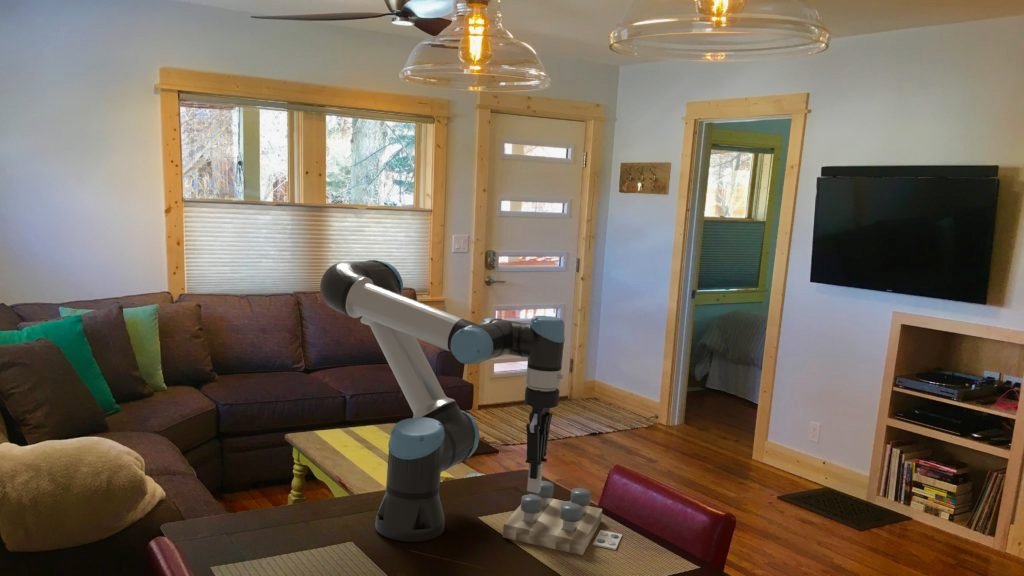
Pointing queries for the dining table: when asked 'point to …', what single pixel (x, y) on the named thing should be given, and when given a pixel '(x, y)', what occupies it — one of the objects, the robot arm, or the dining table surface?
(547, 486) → the button
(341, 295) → the robot arm
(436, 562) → the dining table surface
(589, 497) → the button
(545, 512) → the board
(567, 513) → the button
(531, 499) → the button
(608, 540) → the tile
